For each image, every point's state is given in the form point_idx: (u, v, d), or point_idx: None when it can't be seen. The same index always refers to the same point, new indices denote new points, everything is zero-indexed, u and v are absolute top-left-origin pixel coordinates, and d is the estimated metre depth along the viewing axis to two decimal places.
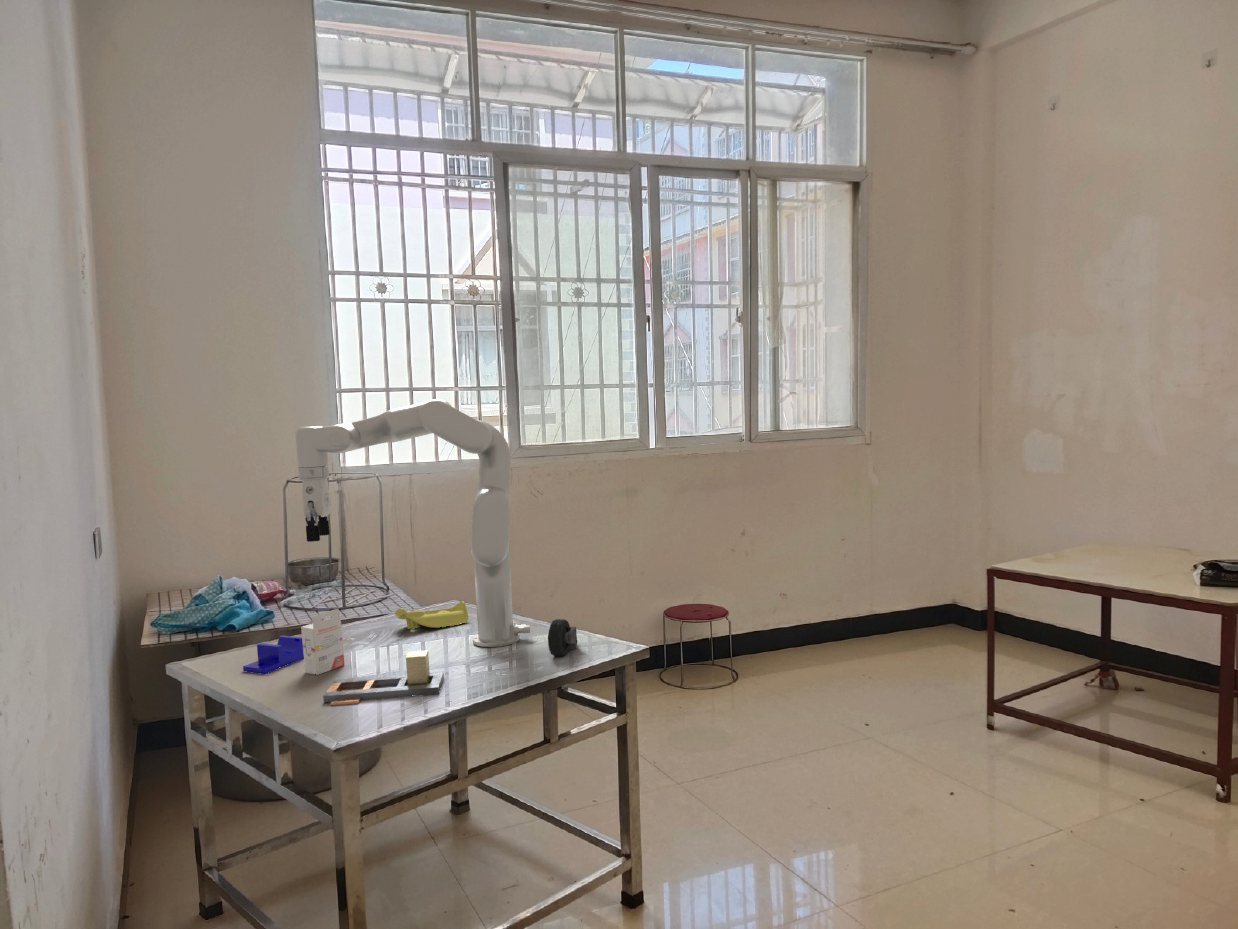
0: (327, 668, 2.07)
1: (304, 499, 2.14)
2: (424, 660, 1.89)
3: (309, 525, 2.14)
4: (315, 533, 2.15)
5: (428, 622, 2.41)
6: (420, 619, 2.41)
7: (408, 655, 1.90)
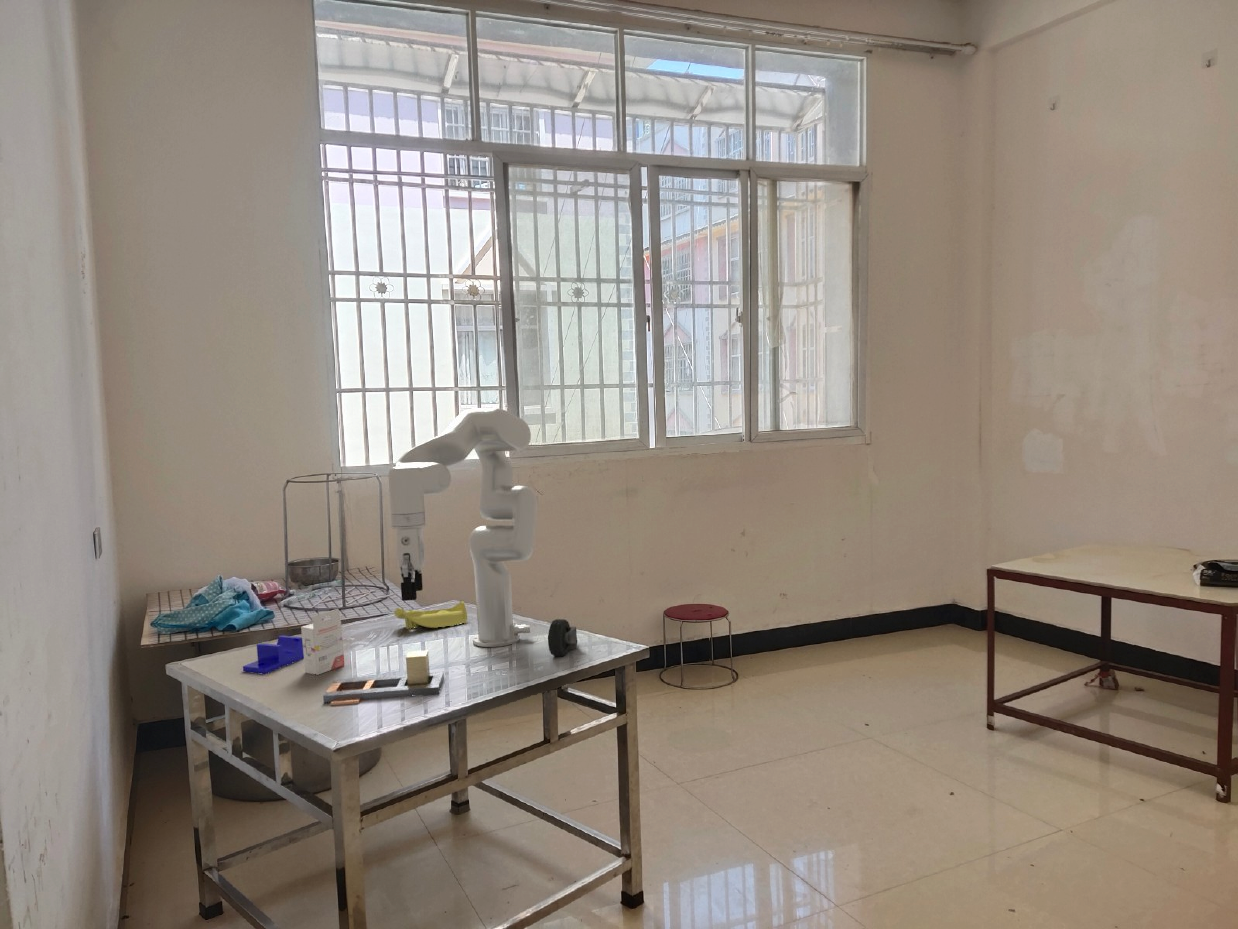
0: (327, 668, 2.07)
1: (399, 551, 1.84)
2: (424, 660, 1.89)
3: (405, 582, 1.84)
4: (412, 591, 1.84)
5: (426, 622, 2.41)
6: (418, 619, 2.41)
7: (408, 655, 1.90)
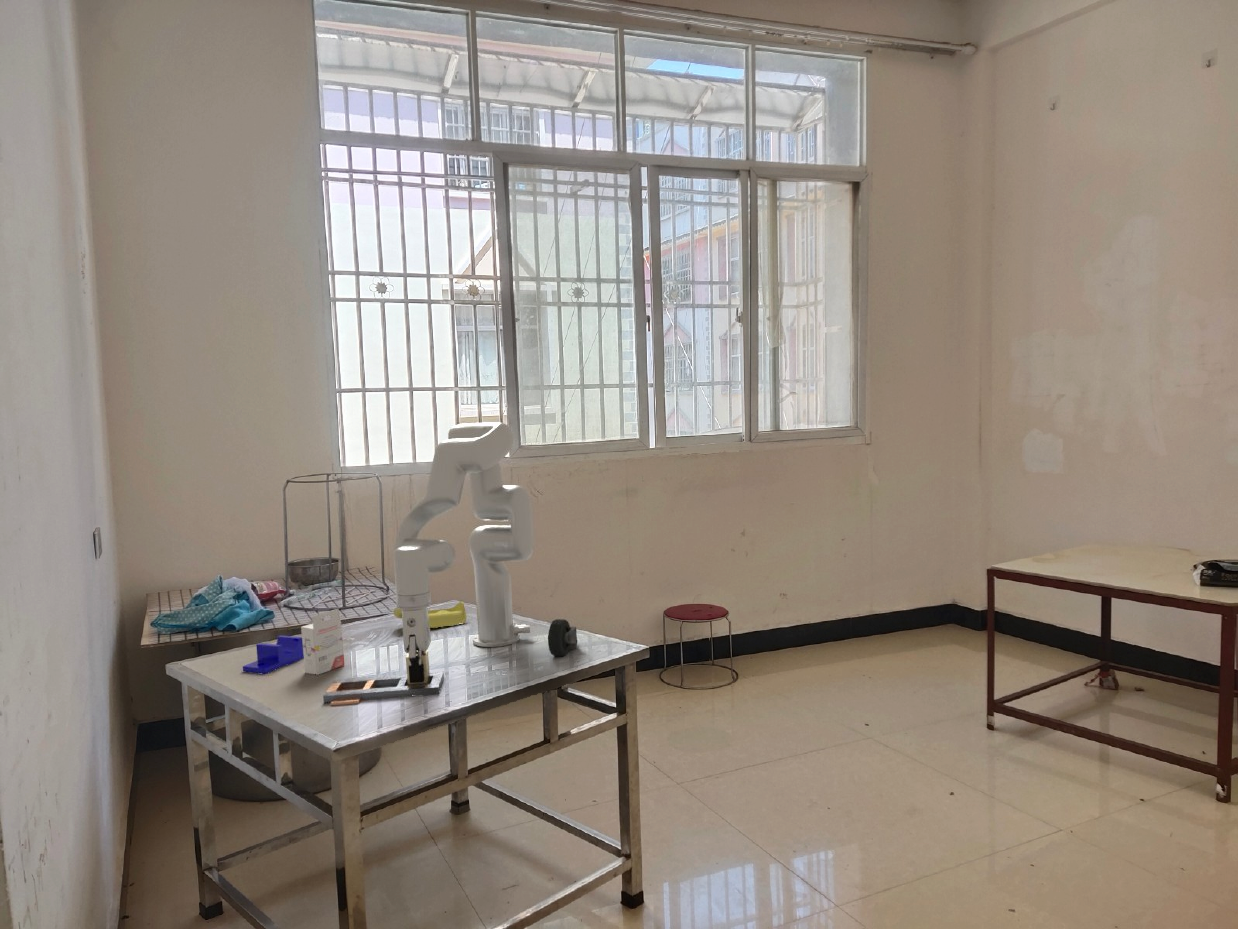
0: (327, 668, 2.07)
1: (405, 633, 1.86)
2: (424, 660, 1.89)
3: (413, 665, 1.88)
4: (419, 674, 1.88)
5: None
6: None
7: (408, 655, 1.90)
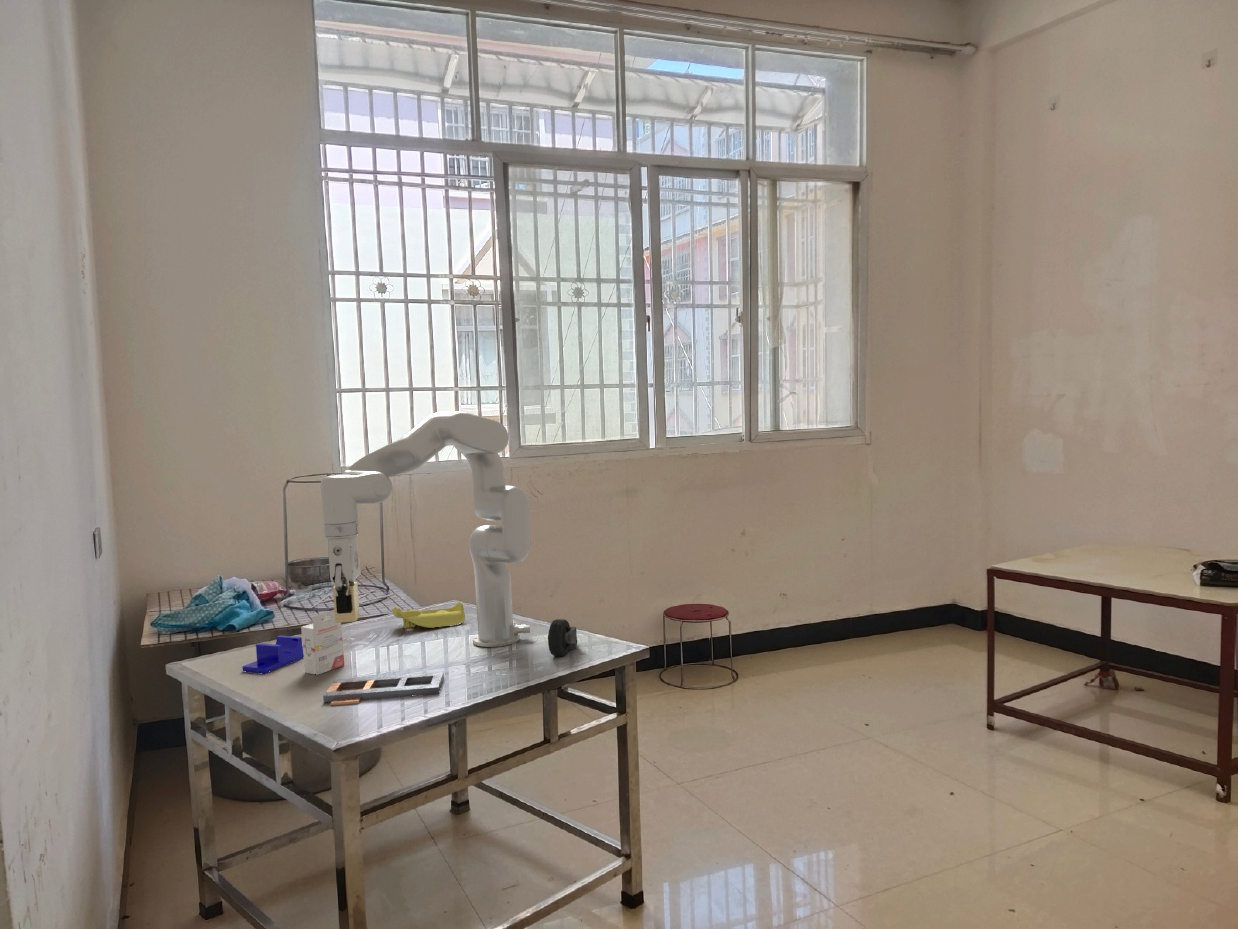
0: (327, 668, 2.07)
1: (331, 561, 1.83)
2: (352, 590, 1.87)
3: (340, 595, 1.85)
4: (346, 604, 1.86)
5: (423, 622, 2.42)
6: (415, 619, 2.41)
7: None
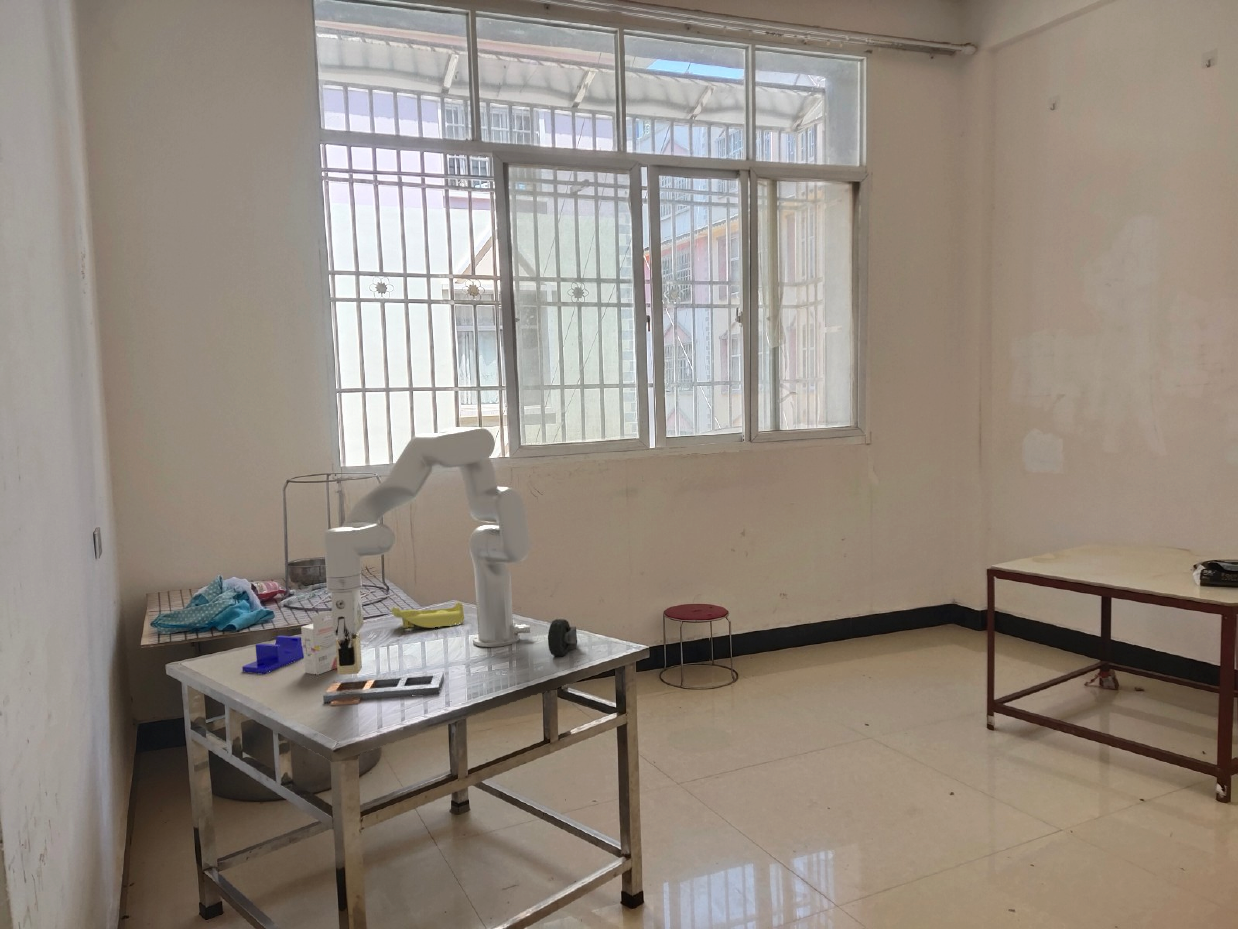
0: (327, 668, 2.07)
1: (334, 615, 1.84)
2: (354, 643, 1.87)
3: (342, 648, 1.86)
4: (349, 656, 1.86)
5: (422, 622, 2.42)
6: (414, 618, 2.42)
7: None
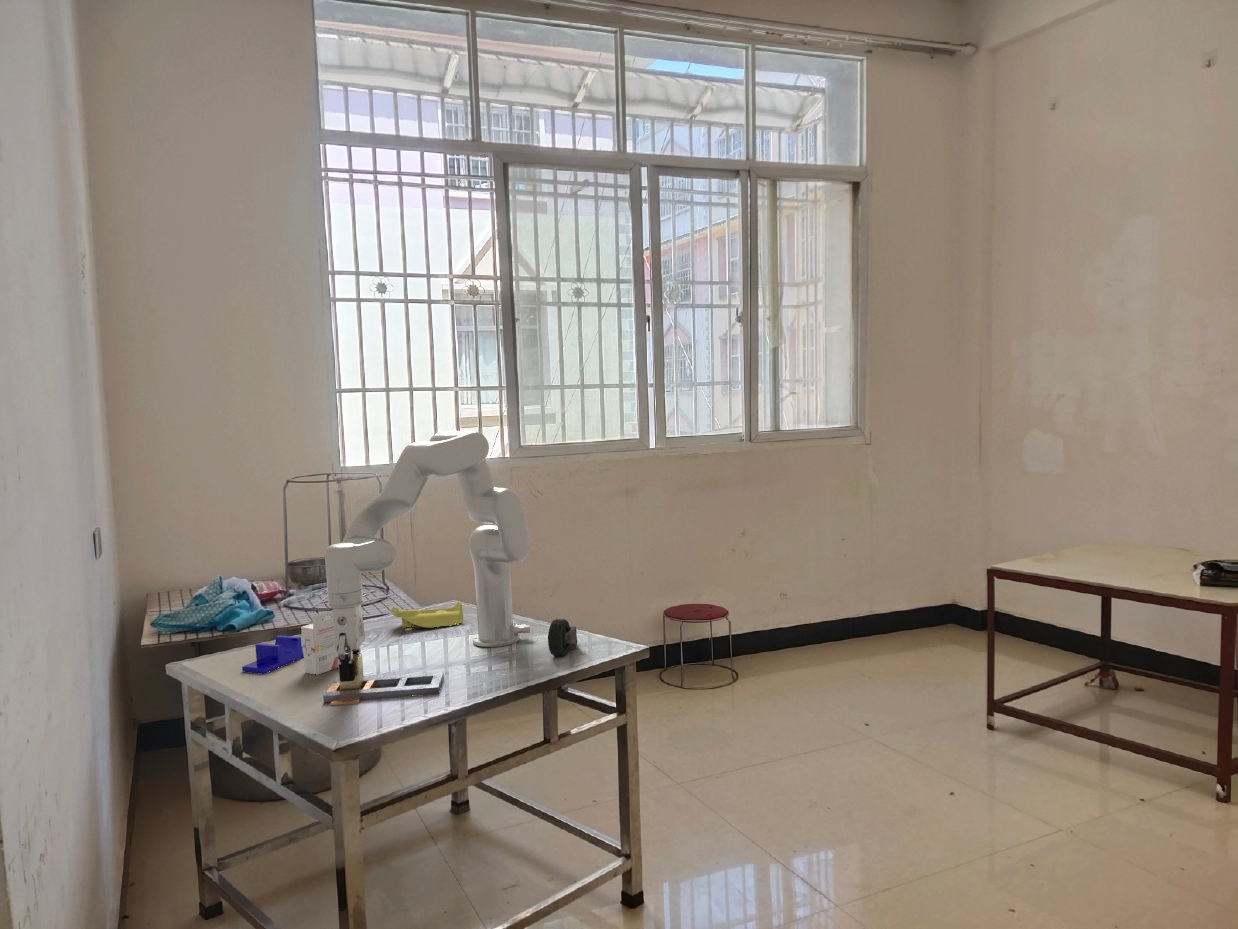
0: (327, 668, 2.07)
1: (335, 631, 1.84)
2: (357, 664, 1.88)
3: (343, 664, 1.85)
4: (349, 672, 1.86)
5: (421, 622, 2.42)
6: (413, 618, 2.42)
7: None
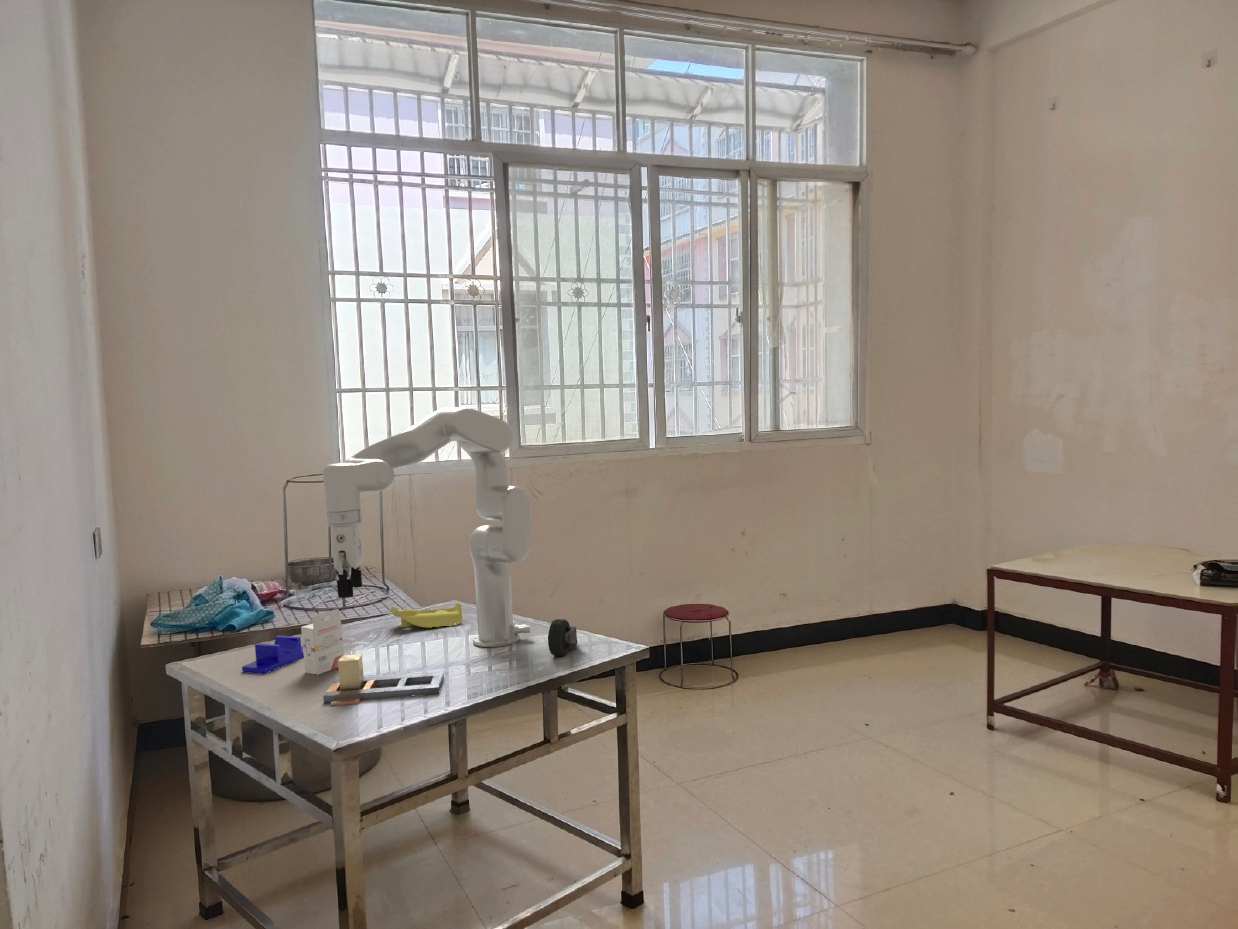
0: (327, 668, 2.07)
1: (334, 549, 1.85)
2: (357, 664, 1.88)
3: (341, 579, 1.84)
4: (348, 588, 1.85)
5: (419, 621, 2.42)
6: (411, 618, 2.42)
7: (341, 659, 1.89)
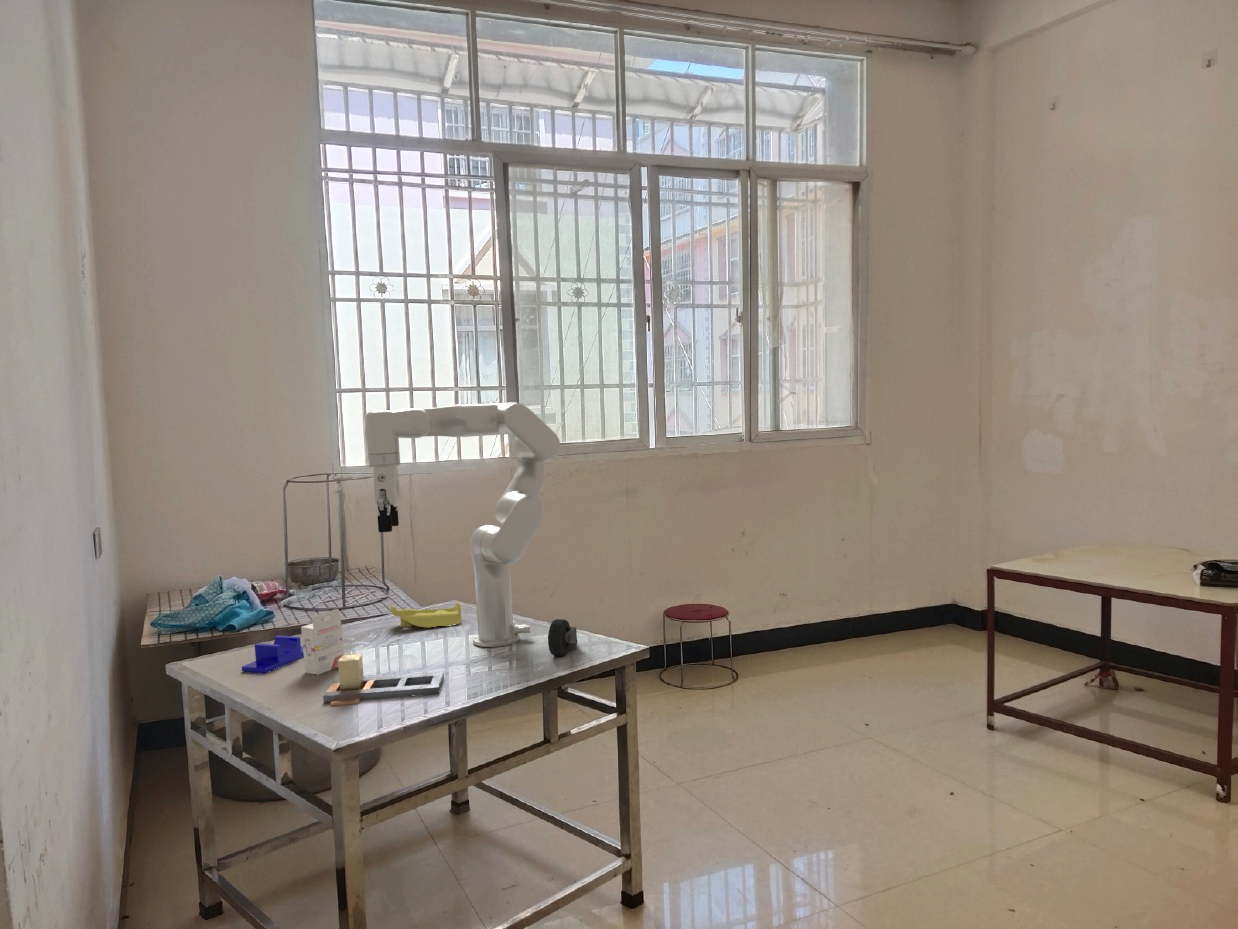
0: (327, 668, 2.07)
1: (376, 487, 2.03)
2: (357, 664, 1.88)
3: (381, 515, 2.02)
4: (387, 523, 2.03)
5: (418, 621, 2.43)
6: (410, 618, 2.43)
7: (341, 659, 1.89)
